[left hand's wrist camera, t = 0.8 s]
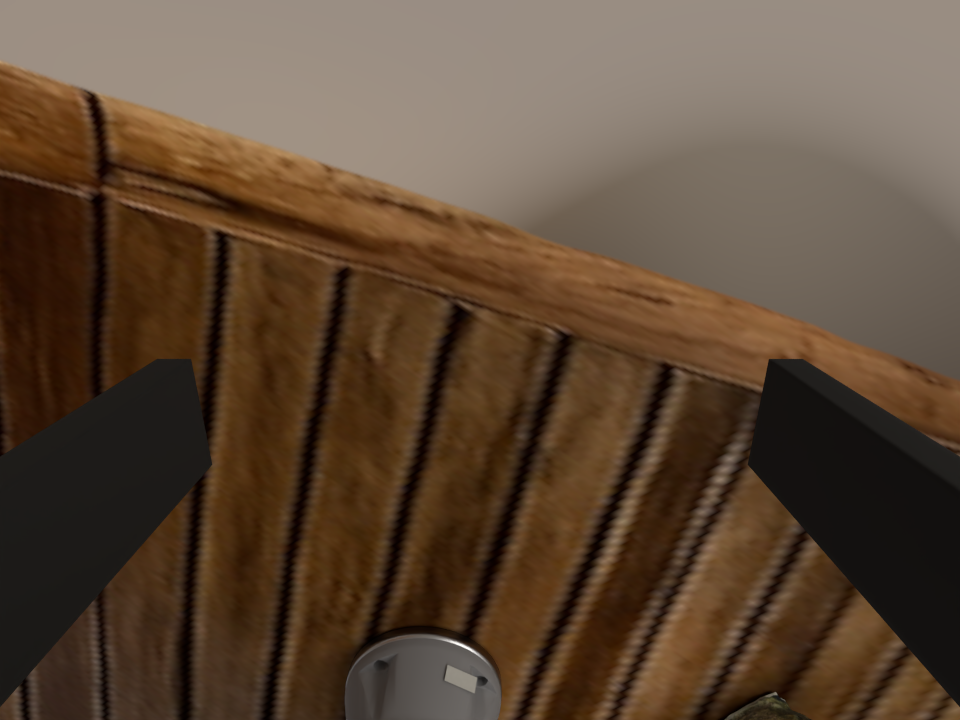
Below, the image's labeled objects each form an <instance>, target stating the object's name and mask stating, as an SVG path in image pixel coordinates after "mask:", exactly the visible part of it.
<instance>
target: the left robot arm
mask: <svg viewBox="0 0 960 720" xmlns="http://www.w3.org/2000/svg"><path fill="white" fill-rule="evenodd" d="M211 465H212V461H211V456H210V451H209V446H208V441H207V436H206V431H205V427H204V422H203V417H202V412H201V407H200V402H199V397H198V392H197V387H196V382H195V377H194V372H193V367H192V362H191V359H157V360H155V361H153V362H152V363H150V364H149V365H147V366H145V367H144V368H142V369H140V370H139V371H137V372H136V373H134V374H132V375H131V376H129V377H128V378H126V379H124V380H123V381H121V382H120V383H118V384H116V385H115V386H113V387H112V388H110V389H108V390H107V391H105V392H103V393H102V394H100V395H99V396H97V397H95V398H94V399H92V400H91V401H89V402H87V403H86V404H84V405H83V406H81V407H79V408H78V409H76V410H75V411H73V412H71V413H70V414H68V415H67V416H65V417H63V418H62V419H60V420H58V421H57V422H55V423H54V424H52V425H50V426H49V427H47V428H46V429H44V430H42V431H41V432H39V433H38V434H36V435H34V436H33V437H31V438H30V439H28V440H26V441H25V442H23V443H22V444H20V445H18V446H17V447H15V448H13V449H12V450H10V451H9V452H7V453H5V454H4V455H2V456H1V457H0V707H1V705H2V704H3V703H4V702H5V701H6V700H7V699H8V697H9V696H10V695H11V694H12V693H13V692H14V691H15V689H16V688H17V687H18V686H19V685H20V684H21V683H22V681H23V680H24V679H25V678H26V677H27V676H28V675H29V673H30V672H31V671H32V670H33V669H34V668H35V666H36V665H37V664H38V663H39V662H40V661H41V660H42V658H43V657H44V656H45V655H46V654H47V653H48V652H49V650H50V649H51V648H52V647H53V646H54V645H55V644H56V642H57V641H58V640H59V639H60V638H61V637H62V636H63V634H64V633H65V632H66V631H67V630H68V629H69V628H70V626H71V625H72V624H73V623H74V622H75V621H76V620H77V618H78V617H79V616H80V615H81V614H82V613H83V612H84V610H85V609H86V608H87V607H88V606H89V605H90V604H91V602H92V601H93V600H94V599H95V598H96V597H97V596H98V594H99V593H100V592H101V591H102V590H103V589H104V588H105V586H106V585H107V584H108V583H109V582H110V581H111V580H112V578H113V577H114V576H115V575H116V574H117V573H118V572H119V570H120V569H121V568H122V567H123V566H124V565H125V564H126V562H127V561H128V560H129V559H130V558H131V557H132V556H133V554H134V553H135V552H136V551H137V550H138V549H139V548H140V546H141V545H142V544H143V543H144V542H145V541H146V540H147V538H148V537H149V536H150V535H151V534H152V533H153V532H154V530H155V529H156V528H157V527H158V526H159V525H160V524H161V522H162V521H163V520H164V519H165V518H166V517H167V516H168V514H169V513H170V512H171V511H172V510H173V509H174V508H175V506H176V505H177V504H178V503H179V502H180V501H181V500H182V498H183V497H184V496H185V495H186V494H187V493H188V492H189V490H190V489H191V488H192V487H193V486H194V485H195V484H196V482H197V481H198V480H199V479H200V478H201V477H202V476H203V474H204V473H205V472H206V471H207V470H208V469H209V468H210V466H211ZM748 465H749V466H750V468H751V469H752V470H753V471H754V472H755V473H756V474H757V476H758V477H759V478H760V479H761V480H762V481H763V482H764V484H765V485H766V486H767V487H768V488H769V489H770V490H771V492H772V493H773V494H774V495H775V496H776V497H777V498H778V500H779V501H780V502H781V503H782V504H783V505H784V506H785V508H786V509H787V510H788V511H789V512H790V513H791V514H792V516H793V517H794V518H795V519H796V520H797V521H798V522H799V524H800V525H801V526H802V527H803V528H804V529H805V530H806V532H807V533H808V534H809V535H810V536H811V537H812V538H813V540H814V541H815V542H816V543H817V544H818V545H819V546H820V548H821V549H822V550H823V551H824V552H825V553H826V554H827V556H828V557H829V558H830V559H831V560H832V561H833V562H834V564H835V565H836V566H837V567H838V568H839V569H840V570H841V572H842V573H843V574H844V575H845V576H846V577H847V578H848V580H849V581H850V582H851V583H852V584H853V585H854V586H855V588H856V589H857V590H858V591H859V592H860V593H861V594H862V596H863V597H864V598H865V599H866V600H867V601H868V602H869V604H870V605H871V606H872V607H873V608H874V609H875V610H876V612H877V613H878V614H879V615H880V616H881V617H882V618H883V620H884V621H885V622H886V623H887V624H888V625H889V626H890V628H891V629H892V630H893V631H894V632H895V633H896V634H897V636H898V637H899V638H900V639H901V640H902V641H903V642H904V644H905V645H906V646H907V647H908V648H909V649H910V650H911V652H912V653H913V654H914V655H915V656H916V657H917V658H918V660H919V661H920V662H921V663H922V664H923V665H924V666H925V668H926V669H927V670H928V671H929V672H930V673H931V675H932V676H933V677H934V678H935V679H936V680H937V681H938V683H939V684H940V685H941V686H942V687H943V688H944V689H945V691H946V692H947V693H948V694H949V695H950V696H951V697H952V699H953V700H954V701H955V702H956V703H957V704H958V705H959V707H960V457H959V456H958V455H956V454H955V453H953V452H951V451H950V450H948V449H947V448H945V447H943V446H942V445H940V444H938V443H937V442H935V441H934V440H932V439H930V438H929V437H927V436H926V435H924V434H922V433H921V432H919V431H918V430H916V429H914V428H913V427H911V426H910V425H908V424H906V423H905V422H903V421H902V420H900V419H898V418H897V417H895V416H893V415H892V414H890V413H889V412H887V411H885V410H884V409H882V408H881V407H879V406H877V405H876V404H874V403H873V402H871V401H869V400H868V399H866V398H865V397H863V396H861V395H860V394H858V393H857V392H855V391H853V390H852V389H850V388H848V387H847V386H845V385H844V384H842V383H840V382H839V381H837V380H836V379H834V378H832V377H831V376H829V375H828V374H826V373H824V372H823V371H821V370H820V369H818V368H816V367H815V366H813V365H811V364H810V363H808V362H807V361H805V360H803V359H769V362H768V367H767V372H766V377H765V382H764V387H763V392H762V397H761V402H760V407H759V412H758V417H757V422H756V427H755V431H754V436H753V441H752V446H751V451H750V456H749V461H748ZM501 697H502V696H501V677H500V673H499V669H498V667H497V665H496V663H495V661H494V660H493V658H492V657H491V656H490V654H489V653H488V652H487V651H486V650H485V649H484V648H482V647H481V646H480V645H479V644H477V643H476V642H474V641H473V640H471V639H469V638H468V637H465V636H463V635H461V634H458V633H456V632H453V631H449V630H446V629H441V628H434V627H409V628H403V629H398V630H394V631H391V632H388V633H385V634H383V635H381V636H378V637H377V638H375V639H373V640H372V641H370V642H369V643H367V644H366V645H365V646H364V647H363V648H362V649H361V650H360V651H359V652H358V653H357V655H356V656H355V658H354V660H353V661H352V664H351V666H350V670H349V674H348V678H347V682H346V689H345V712H346V720H498V716H499V713H500V706H501Z"/></svg>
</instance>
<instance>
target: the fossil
mask: <svg viewBox="0 0 960 720" xmlns="http://www.w3.org/2000/svg"><path fill="white" fill-rule="evenodd" d="M725 720H811V719H809V718H807V717H806V716H805V715H802V714H800V713H797V712H795V711H792V710H791V709H790V708H789V706H788V704H787V703H786V702H785V700H784V699H782V698H779V696H778V695H777V693H776V692H774V693H771V694H769V695H766V696H763V697H761V698H759V699H757V700H756V701H754V702H752V703H750V704H748V705H746V706H745V707H743V708H741V709H740V710H738V711H736V712H734V713H732V714H730V715H729V716H728V717H727V718H726V719H725Z"/></svg>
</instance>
